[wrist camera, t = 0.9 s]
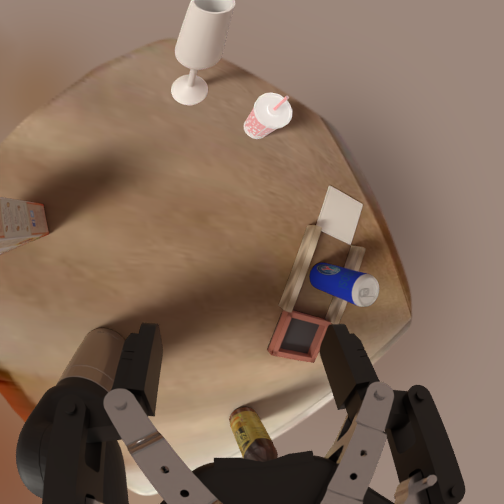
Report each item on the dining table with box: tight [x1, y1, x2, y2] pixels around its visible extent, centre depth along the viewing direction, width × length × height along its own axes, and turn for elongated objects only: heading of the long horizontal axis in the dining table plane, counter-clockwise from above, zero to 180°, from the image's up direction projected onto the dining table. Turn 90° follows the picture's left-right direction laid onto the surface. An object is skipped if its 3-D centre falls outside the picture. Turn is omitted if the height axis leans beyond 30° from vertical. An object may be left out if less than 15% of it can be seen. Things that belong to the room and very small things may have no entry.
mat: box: [316, 186, 363, 245], centre depth 53 cm, size 9×9×1 cm
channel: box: [278, 225, 366, 324], centre depth 52 cm, size 16×12×4 cm
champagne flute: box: [171, 0, 235, 105], centre depth 31 cm, size 7×7×24 cm
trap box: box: [267, 309, 331, 363], centre depth 52 cm, size 9×10×2 cm
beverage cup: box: [244, 93, 292, 139], centre depth 40 cm, size 6×6×14 cm
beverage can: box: [310, 263, 379, 307], centre depth 46 cm, size 5×5×15 cm
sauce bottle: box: [229, 407, 278, 462], centre depth 43 cm, size 6×6×20 cm
